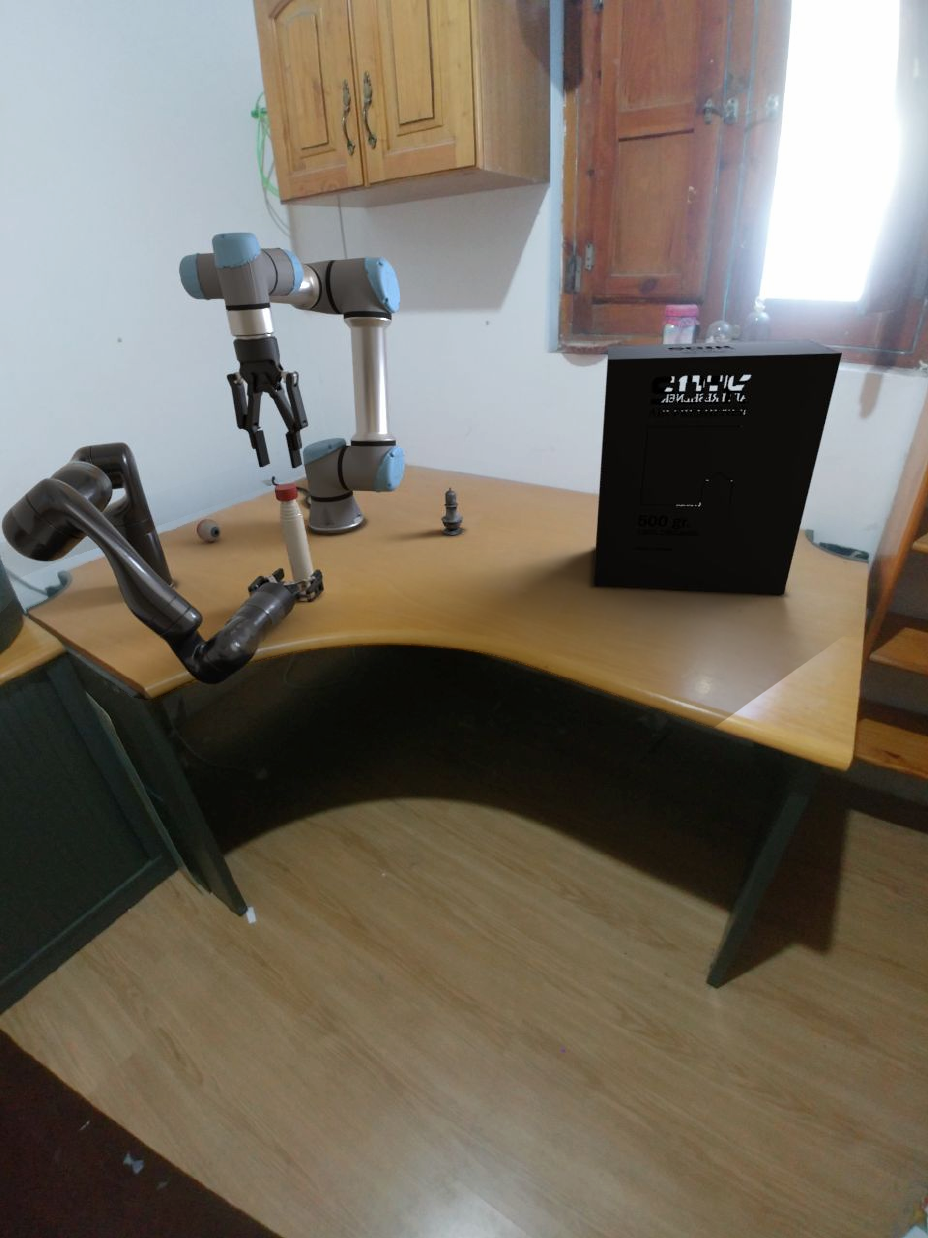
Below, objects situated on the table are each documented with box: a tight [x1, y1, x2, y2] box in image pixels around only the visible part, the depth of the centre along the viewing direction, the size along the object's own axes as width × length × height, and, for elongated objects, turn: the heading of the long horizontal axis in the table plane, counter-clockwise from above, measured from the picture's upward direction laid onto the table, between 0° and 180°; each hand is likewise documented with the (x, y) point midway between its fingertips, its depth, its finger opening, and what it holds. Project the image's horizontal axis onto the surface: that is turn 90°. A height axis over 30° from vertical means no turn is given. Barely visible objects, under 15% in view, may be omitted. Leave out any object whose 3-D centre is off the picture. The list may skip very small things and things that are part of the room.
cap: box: [274, 482, 299, 502], centre depth 121 cm, size 4×4×2 cm
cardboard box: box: [593, 339, 843, 595], centre depth 123 cm, size 38×20×45 cm, turn 78°
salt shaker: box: [440, 487, 464, 536], centre depth 158 cm, size 6×6×12 cm
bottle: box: [279, 499, 315, 602], centre depth 126 cm, size 4×4×24 cm
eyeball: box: [196, 518, 222, 543], centre depth 162 cm, size 6×6×6 cm
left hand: (300, 572), depth 129 cm, fingers open, 8 cm apart
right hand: (280, 465), depth 118 cm, fingers open, 6 cm apart
